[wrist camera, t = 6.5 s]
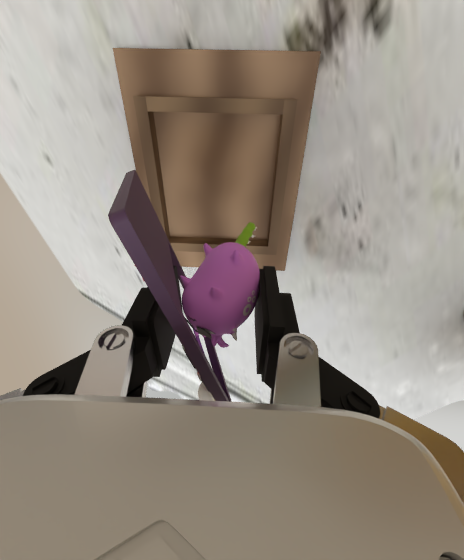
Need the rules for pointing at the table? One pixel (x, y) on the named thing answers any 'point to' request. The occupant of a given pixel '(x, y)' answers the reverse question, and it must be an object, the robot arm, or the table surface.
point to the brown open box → (219, 142)
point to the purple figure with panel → (190, 282)
